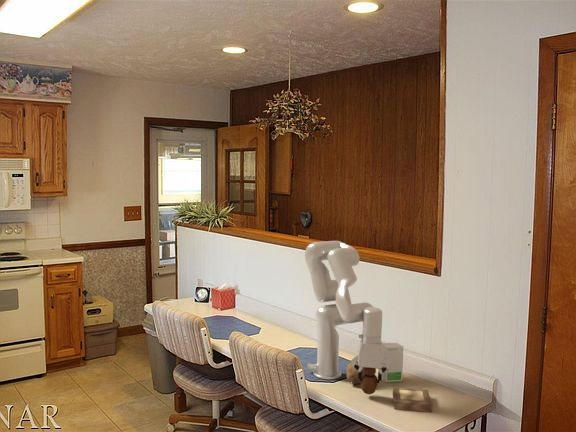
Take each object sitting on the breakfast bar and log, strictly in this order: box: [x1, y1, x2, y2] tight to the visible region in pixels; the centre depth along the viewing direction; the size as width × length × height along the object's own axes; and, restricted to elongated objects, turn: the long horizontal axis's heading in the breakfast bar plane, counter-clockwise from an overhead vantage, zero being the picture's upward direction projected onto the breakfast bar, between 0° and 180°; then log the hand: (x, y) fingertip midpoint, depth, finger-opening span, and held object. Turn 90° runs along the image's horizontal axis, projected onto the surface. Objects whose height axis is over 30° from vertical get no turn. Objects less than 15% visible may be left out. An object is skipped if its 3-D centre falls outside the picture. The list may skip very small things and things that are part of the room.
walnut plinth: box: [392, 387, 433, 413], centre depth 215 cm, size 14×14×3 cm
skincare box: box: [381, 342, 404, 383], centre depth 239 cm, size 8×7×16 cm
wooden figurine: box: [360, 367, 379, 395], centre depth 219 cm, size 7×6×15 cm
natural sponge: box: [345, 360, 365, 385], centre depth 234 cm, size 9×9×10 cm
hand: (369, 381), depth 220 cm, fingers closed on wooden figurine, 6 cm apart
